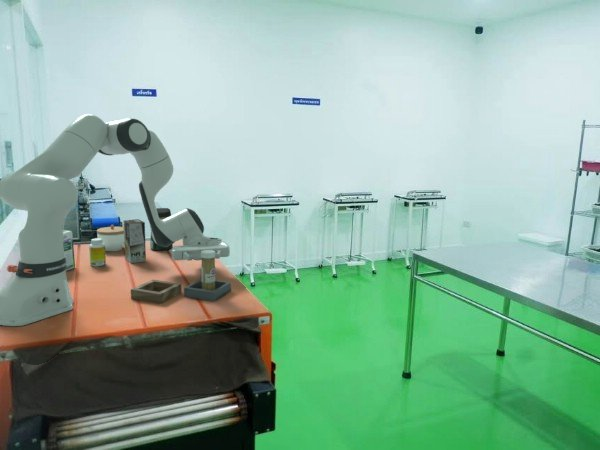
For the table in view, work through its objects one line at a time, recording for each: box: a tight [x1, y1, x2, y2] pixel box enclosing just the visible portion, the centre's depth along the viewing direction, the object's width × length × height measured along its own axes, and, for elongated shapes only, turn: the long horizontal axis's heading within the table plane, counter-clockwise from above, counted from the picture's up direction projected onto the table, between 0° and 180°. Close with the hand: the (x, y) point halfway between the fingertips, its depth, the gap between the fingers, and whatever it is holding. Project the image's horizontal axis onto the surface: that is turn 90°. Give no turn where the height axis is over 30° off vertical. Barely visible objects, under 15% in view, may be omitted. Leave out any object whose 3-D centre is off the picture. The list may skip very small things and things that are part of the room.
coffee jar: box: [149, 207, 174, 251], centre depth 202 cm, size 10×8×19 cm
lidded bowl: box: [96, 224, 125, 252], centre depth 200 cm, size 13×13×11 cm
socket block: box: [130, 279, 182, 304], centre depth 144 cm, size 11×11×3 cm
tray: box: [183, 278, 232, 303], centre depth 147 cm, size 11×11×3 cm
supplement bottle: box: [88, 237, 107, 267], centre depth 175 cm, size 6×6×10 cm
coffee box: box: [122, 218, 147, 264], centre depth 183 cm, size 9×6×16 cm
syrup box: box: [63, 229, 76, 272], centre depth 168 cm, size 6×6×14 cm
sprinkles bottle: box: [200, 250, 216, 291], centre depth 147 cm, size 5×5×14 cm
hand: (203, 257), depth 154 cm, fingers open, 8 cm apart
